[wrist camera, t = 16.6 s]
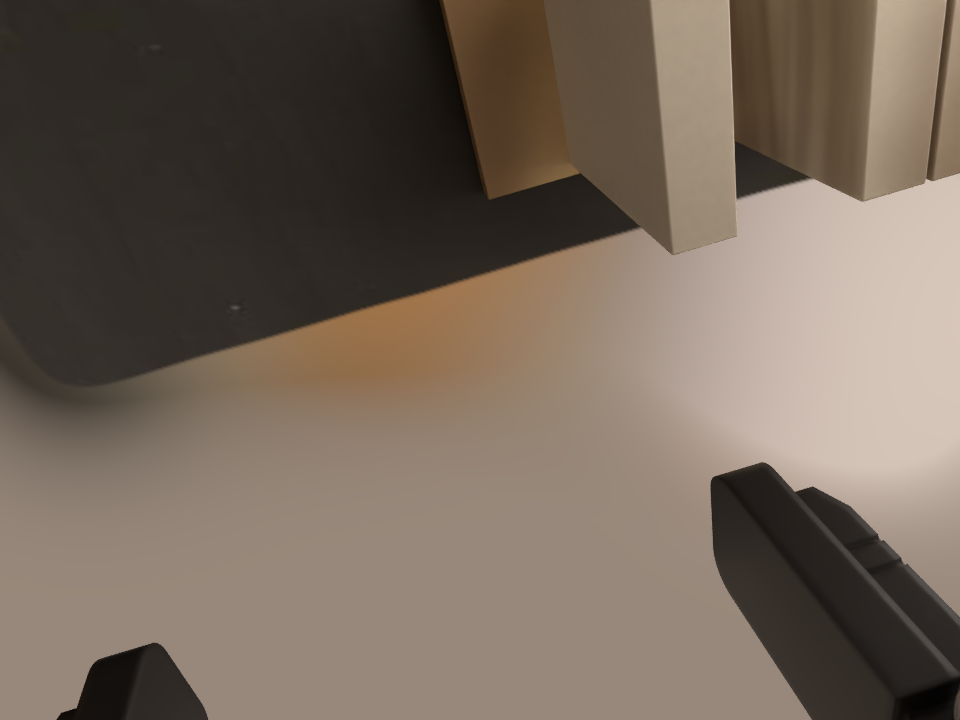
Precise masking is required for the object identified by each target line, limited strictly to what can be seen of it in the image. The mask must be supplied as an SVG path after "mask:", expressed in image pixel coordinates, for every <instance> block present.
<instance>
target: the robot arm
mask: <svg viewBox="0 0 960 720" xmlns="http://www.w3.org/2000/svg"><path fill="white" fill-rule="evenodd" d="M711 508H712V530H713V549H714V557H715V561H716V564H717V568H718V570H719V573H720V576H721V578H722V580H723V582H724V585H725V587H726V588H727V590H728V592H729V594H730V595H731V597H732V598H733V600H734V601H735V603H736V604H737V606H738V607H739V609H740V610H741V612H742V613H743V615H744V616H745V618H746V619H747V621H748V622H749V624H750V626H751V627H752V629H753V630H754V632H755V633H756V635H757V636H758V638H759V639H760V641H761V642H762V644H763V645H764V647H765V648H766V650H767V651H768V653H769V655H770V656H771V658H772V659H773V661H774V662H775V664H776V665H777V667H778V668H779V670H780V671H781V673H782V674H783V676H784V677H785V679H786V680H787V682H788V683H789V685H790V687H791V688H792V690H793V691H794V693H795V694H796V696H797V697H798V699H799V700H800V702H801V703H802V705H803V706H804V708H805V709H806V711H807V713H808V714H809V716H810V717H811V719H812V720H960V617H959V616H958V615H957V614H956V613H955V612H954V611H953V610H952V609H951V608H950V607H949V606H948V605H947V604H946V603H945V602H944V601H943V600H942V599H941V598H940V597H939V596H938V595H937V594H936V593H935V592H934V591H933V590H932V589H931V588H930V587H929V586H928V585H927V584H926V583H925V582H924V581H923V579H921V578H920V576H919V575H917V574H916V572H915V571H914V570H913V569H912V568H911V567H910V566H909V565H908V564H906V565H904V564H903V562H902V560H901V557H900V556H899V555H898V554H897V553H896V552H895V551H894V550H893V549H892V548H891V547H890V546H889V545H888V544H887V543H886V542H885V541H883V540H882V541H881V540H880V539H879V537H878V534H877V533H876V532H875V531H874V530H873V529H872V528H871V527H870V526H869V525H868V524H867V523H866V522H865V521H864V520H863V519H862V518H861V517H860V516H859V515H858V514H857V513H856V512H855V511H854V510H853V509H852V508H851V507H850V506H849V505H847V504H845V503H843V502H841V501H839V500H837V499H835V498H833V497H832V496H829V495H828V494H826V493H824V492H822V491H820V490H818V489H817V488H814V487H810V488H807V489H803V490H800V491H797V492H794V491H793V489H792V488H791V487H790V486H789V485H788V484H787V483H786V482H785V481H784V480H783V479H782V477H781V476H780V475H779V474H778V473H777V472H776V471H775V470H774V469H773V468H772V467H771V466H770V465H768V464H766V463H763V462H762V463H758V464H755V465H752V466H749V467H745V468H741V469H738V470H735V471H732V472H728V473H725V474H721V475H718V476H715V477H713V478H712V480H711ZM57 720H208V717H207V714H206V711H205V709H204V707H203V705H202V703H201V702H200V700H199V699H198V697H197V696H196V694H195V693H194V691H193V690H192V688H191V687H190V685H189V684H188V683H187V681H186V680H185V678H184V677H183V675H182V674H181V672H180V671H179V669H178V668H177V666H176V665H175V663H174V662H173V660H172V659H171V658H170V656H169V655H168V653H167V652H166V650H165V649H164V648H163V647H162V646H161V645H159V644H158V643H151V644H148V645H145V646H141V647H138V648H135V649H131V650H128V651H125V652H121V653H118V654H115V655H111V656H108V657H105V658H102V659H99V660H97V661H96V662H95V663H94V664H93V665H92V667H91V668H90V671H89V673H88V676H87V679H86V682H85V685H84V688H83V691H82V694H81V697H80V700H79V703H78V706H77V708H76V709H72V710H69V711H66V712H63V713H61V714H60V716H59V717H58V718H57Z"/></svg>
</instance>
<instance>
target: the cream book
mask: <svg viewBox="0 0 960 720" xmlns="http://www.w3.org/2000/svg"><path fill="white" fill-rule="evenodd" d="M543 1H544V7H545V13H546V19H547V25H548V31H549V37H550V43H551V49H552V56H553V62H554V68H555V74H556V80H557V86H558V92H559V98H560V104H561V110H562V117H563V123H564V129H565V135H566V141H567V147H568V153H569V159H570V164H571V165H572V166H574V167H575V168H576V169H577V170H578V171H579V172H580V173H581V174H582V175H584V176H585V177H586V178H587V179H588V180H589V181H590V182H591V183H592V184H594V185H595V186H596V187H597V188H598V189H599V190H600V191H601V192H603V193H604V194H605V195H606V196H607V197H608V198H609V199H610V200H611V201H613V202H614V203H615V204H616V205H617V206H618V207H619V208H620V209H622V210H623V211H624V212H625V213H626V214H627V215H628V216H629V217H630V218H632V219H633V220H634V221H635V222H636V223H637V224H638V225H639V226H640V227H642V228H643V229H644V230H645V231H646V232H647V233H648V234H649V235H651V236H652V237H653V238H654V239H655V240H656V241H657V242H659V243H660V244H661V245H662V246H663V247H664V248H665V249H666V250H667V251H668V252H670V253H671V254H672V255H675V254H679V253H682V252H685V251H689V250H692V249H696V248H699V247H702V246H705V245H709V244H712V243H716V242H719V241H722V240H726V239H729V238H732V237H736V236H737V205H736V177H735V149H734V121H733V93H732V66H731V38H730V10H729V0H543Z"/></svg>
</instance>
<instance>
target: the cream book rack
mask: <svg viewBox="0 0 960 720" xmlns="http://www.w3.org/2000/svg"><path fill="white" fill-rule="evenodd" d="M439 2H440V6H441V10H442V14H443V19H444V23H445V27H446V32H447V36H448V40H449V44H450V49H451V53H452V57H453V62H454V66H455V70H456V74H457V79H458V83H459V87H460V92H461V96H462V100H463V104H464V109H465V113H466V117H467V122H468V126H469V130H470V134H471V139H472V143H473V147H474V152H475V156H476V160H477V164H478V169H479V173H480V177H481V182H482V186H483V190H484V193H485V195H486V196H487V198H488V199H489V200H490V199H493V198H497V197H500V196H504V195H507V194H511V193H514V192H517V191H521V190H524V189H528V188H531V187H535V186H538V185H542V184H545V183H548V182H552V181H555V180H559V179H562V178H566V177H569V176H573V175H576V174H579V173H580V172H579V171H578V170H577V169H576V168H575V167H574V166H572V165H571V164H570V159H569V153H568V147H567V141H566V135H565V129H564V123H563V117H562V110H561V104H560V98H559V92H558V86H557V80H556V74H555V68H554V62H553V56H552V49H551V43H550V37H549V31H548V25H547V19H546V13H545V7H544V1H543V0H439ZM729 10H730V38H731V66H732V93H733V121H734V141H736V142H738V143H740V144H742V145H745V146H747V147H749V148H751V149H753V150H755V151H757V152H759V153H761V154H763V155H765V156H768V157H770V158H772V159H774V160H776V161H778V162H780V163H782V164H784V165H786V166H788V167H790V168H793V169H795V170H797V171H799V172H801V173H803V174H805V175H807V176H809V177H811V178H813V179H816V180H818V181H820V182H822V183H824V184H826V185H828V186H830V187H832V188H834V189H837V190H839V191H841V192H843V193H845V194H847V195H849V196H851V197H853V198H855V199H857V200H859V201H867V200H870V199H874V198H877V197H880V196H884V195H887V194H891V193H894V192H897V191H901V190H904V189H907V188H911V187H914V186H917V185H921V184H924V183H925V182H926V179H928V180H930V181H934V180H938V179H941V178H944V177H948V176H951V175H955V174H958V173H960V0H729Z"/></svg>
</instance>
